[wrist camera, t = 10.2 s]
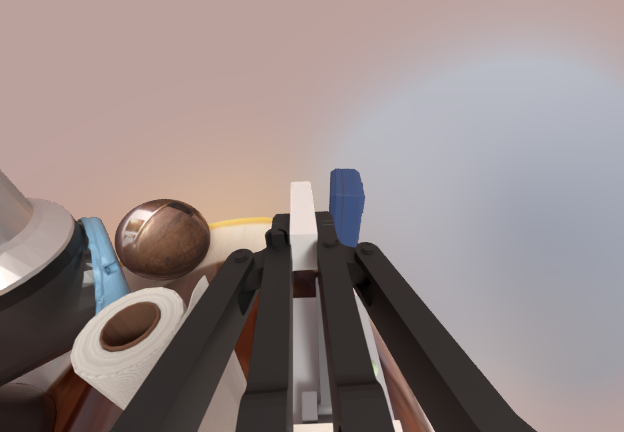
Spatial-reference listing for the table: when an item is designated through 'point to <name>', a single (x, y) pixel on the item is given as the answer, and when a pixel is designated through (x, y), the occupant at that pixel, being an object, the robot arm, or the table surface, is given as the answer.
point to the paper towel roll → (148, 351)
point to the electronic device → (346, 204)
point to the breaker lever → (322, 363)
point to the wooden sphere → (162, 239)
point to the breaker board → (306, 385)
